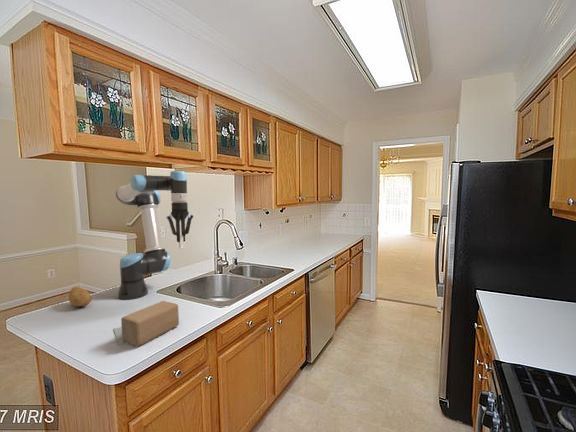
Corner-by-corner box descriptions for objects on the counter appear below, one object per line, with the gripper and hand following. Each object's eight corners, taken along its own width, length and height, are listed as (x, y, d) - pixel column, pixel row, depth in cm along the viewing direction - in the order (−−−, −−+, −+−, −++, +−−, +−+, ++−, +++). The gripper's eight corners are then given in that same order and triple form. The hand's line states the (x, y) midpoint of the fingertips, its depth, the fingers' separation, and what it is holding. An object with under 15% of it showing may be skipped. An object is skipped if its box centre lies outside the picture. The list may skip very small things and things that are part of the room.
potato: (73, 313, 140) (72, 294, 139) (66, 304, 150) (65, 287, 150) (94, 307, 146) (92, 290, 146) (85, 300, 157) (84, 283, 156)
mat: (113, 329, 123) (113, 328, 123) (163, 317, 135) (163, 316, 135) (118, 345, 110) (118, 344, 110) (172, 330, 122) (172, 329, 122)
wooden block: (164, 321, 130) (121, 341, 112) (163, 299, 129) (119, 316, 111) (180, 325, 125) (137, 347, 107) (179, 303, 124) (136, 322, 106)
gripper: (167, 202, 137) (170, 250, 139) (194, 201, 145) (196, 247, 147) (163, 202, 143) (165, 248, 145) (189, 201, 151) (191, 245, 153)
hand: (181, 248), depth 146 cm, fingers closed
